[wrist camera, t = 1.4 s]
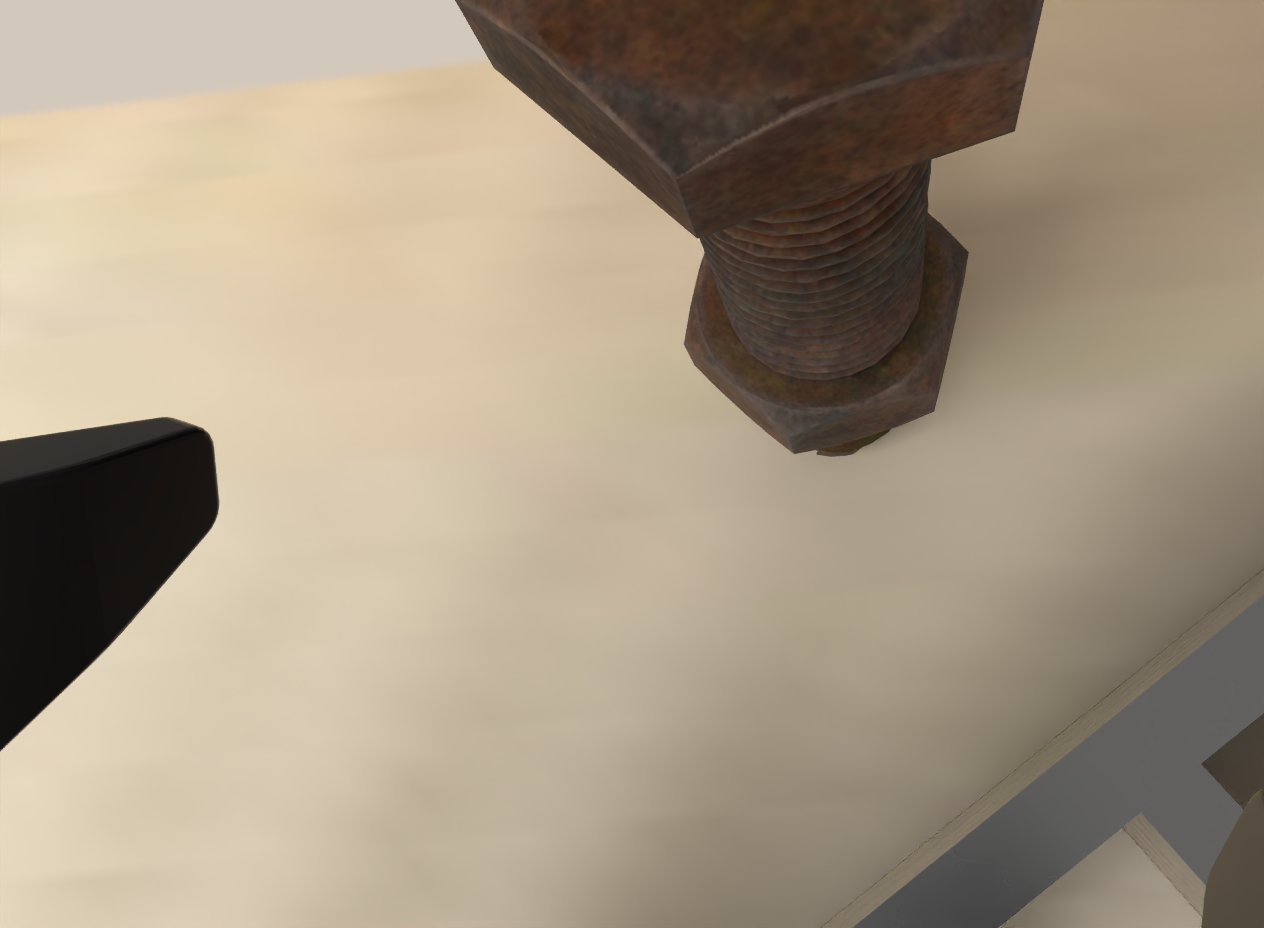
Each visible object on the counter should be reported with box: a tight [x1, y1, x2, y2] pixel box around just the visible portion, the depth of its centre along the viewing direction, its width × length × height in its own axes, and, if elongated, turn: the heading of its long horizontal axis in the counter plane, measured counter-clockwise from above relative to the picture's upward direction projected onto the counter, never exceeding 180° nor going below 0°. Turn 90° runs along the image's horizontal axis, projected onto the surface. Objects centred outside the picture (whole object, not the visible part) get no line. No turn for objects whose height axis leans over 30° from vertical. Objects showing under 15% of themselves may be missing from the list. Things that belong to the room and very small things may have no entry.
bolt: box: [455, 0, 1044, 456], centre depth 16 cm, size 6×5×15 cm
